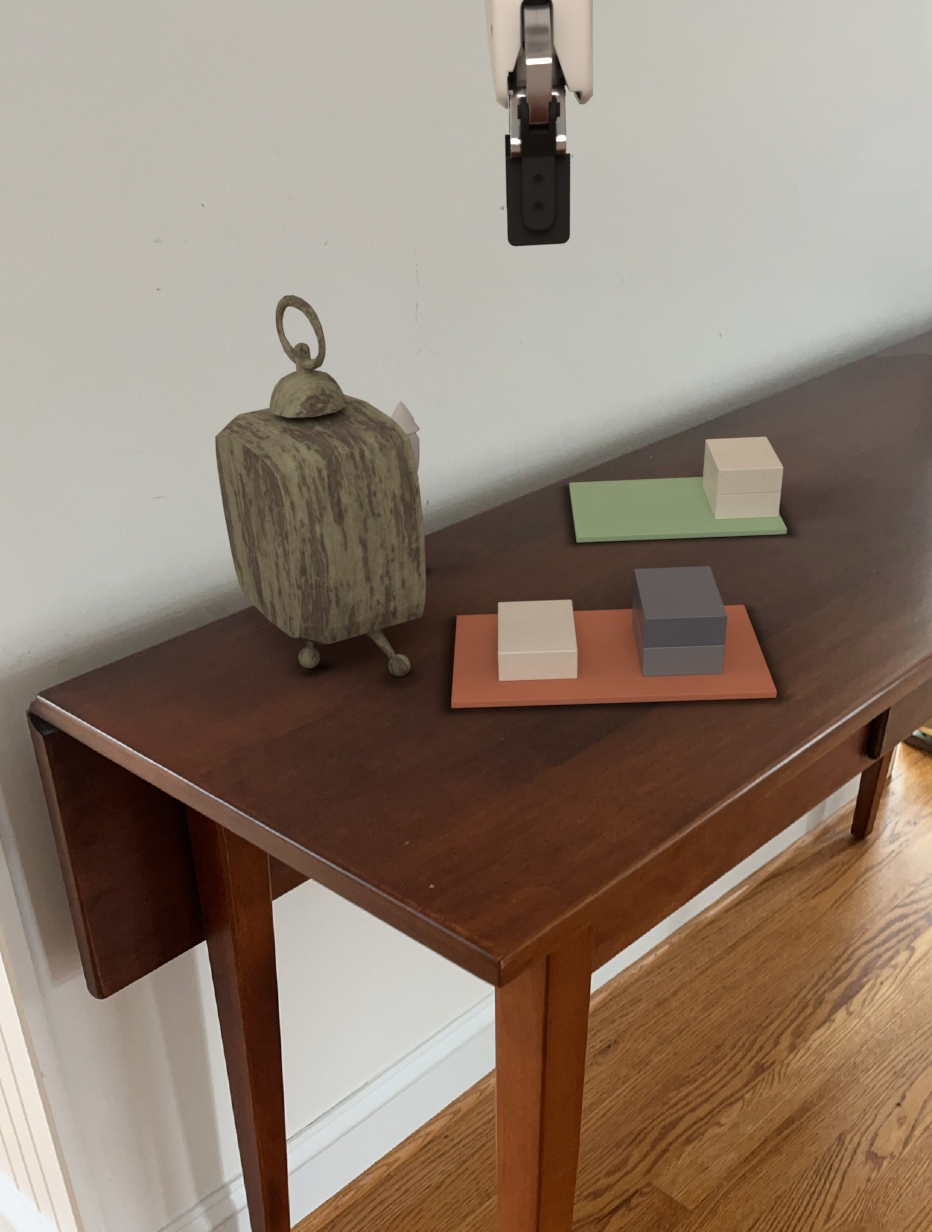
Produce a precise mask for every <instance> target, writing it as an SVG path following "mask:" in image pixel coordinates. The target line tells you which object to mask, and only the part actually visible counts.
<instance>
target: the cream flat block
mask: <svg viewBox="0 0 932 1232" xmlns="http://www.w3.org/2000/svg"><path fill="white" fill-rule="evenodd" d="M573 611H574V605H573V600H572V599H552V600H551V599H550V600H549V599H548V600H523V601H522V600H521V601H499V602H497V614H498V675H499V681H519V680H549V679H576V678H577V675H578V649H577V640H576V632H575V623H574V614H573Z"/></svg>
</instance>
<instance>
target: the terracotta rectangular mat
mask: <svg viewBox="0 0 932 1232" xmlns="http://www.w3.org/2000/svg"><path fill="white" fill-rule="evenodd" d="M724 608H725V611H726V614H727V625H726V637H725V644H724V645H725V649H724V661H723V672H722V674H703V675H673V676H644V677H643V676H642V671H641V666H640V661H639V656H638V651H637V646H636V641H635V636H634V631H633V626H632V612H633V608H621V609H596V610H595V609H594V610H593V609H592V610H573V614H574V623H575V632H576V640H577V649H578V675H577V678H576V679H549V680H519V681H499V675H498V613H487V614H486V613H485V614H483V613H482V614H461V615H460V614H459V615H456V622H455V638H454V652H453V667H452V668H453V669H452V686H451V698H450V699H451V701H450V705H451V709H467V708H469V709H470V708H471V709H472V708H500V707H501V708H502V707H503V708H505V707H532V706H534V707H535V706H536V707H537V706H561V705H563V706H564V705H593V704H623V703H628V704H629V703H657V702H659V703H660V702H687V701H688V702H689V701H716V700H717V701H718V700H722V701H723V700H743V699H744V700H747V699H749V700H752V699H753V700H754V699H776V698H777V694H778V691H777V688H776V685H775V682H774V681H773V678H772V674H771V672H770V669H769V667H768V665H767V662H766V659H765V657H764V654H763V651H762V649H761V646H760V644H759V641H758V638H757V635H756V633H755V630H754V628H753V624H752V622H751V620H750V617H749V614H748V611H747V608H746V605H745V604H730V605H729V604H728V605H724Z"/></svg>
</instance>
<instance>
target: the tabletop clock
mask: <svg viewBox="0 0 932 1232" xmlns="http://www.w3.org/2000/svg"><path fill="white" fill-rule="evenodd" d="M288 307H289V308H294V309H297V310H299V311H300V312H302V313H303V315H304V316H305V317H306V319H308V321H309V324H310V326H311V328H312V329H313V332H314V334H315V337H316V339H317V345H318V346H317V347H318V350H317V351H318V352H317V355H316V356H315V358H312V357H311V356H312V355H311V349H310V345H308V344H307V343H305V342H299V343H297V344H295V345H294V347H293V346H292V345H291V343H290V341H289V340H288V339H287V337H286V333H285V330H284V320H283V319H284V315H285V312H286V309H287V308H288ZM275 327H276V333H277V336H278V339H279V342H280V344H281V347H282V350H283V352H284V353H285V355H287V357H288V358H289V360H290V361H291V362H292V363H294V364H295V370H296V371H292V372H290V373H288V374H286V375H284V376H282V377H281V378H280V379H279V380H278V382H277V383H276V384H275V385H274V387H273V389H272V392H271V395H270V401H269V407H267V408H266V407H265V408H262V409H257V410H252V411H247V412H243V413H239V414H238V415H236V416H234V417H233V418H232V419H231V420H230V421H229V422H228V423H227V424H226V425H225V426H224V427H223V429H221V430H220V431H219V432H218V433H217V434H216V435H215V436H214V437H215V438H214V441H215V443H214V444H215V445H214V446H215V459H216V468H217V474H218V481H219V488H220V495H221V502H222V508H223V515H224V520H225V524H226V531H227V537H228V543H229V548H230V552H231V553H230V554H231V557H232V558H231V559H232V563H233V566H234V570H235V571H234V572H235V574H236V578H237V581H238V585H239V587H240V589H241V591H242V592H243V595H245V597H246V598H247V600H248V601H249V602H250V603H251V604H252V605H253V607H255V608H256V609H257V610H258V611H259V612H260V613H261V614H262V616H264V617H265V618H266V619H267V620H268V621H269V622H271V623H272V624H273V625H275V626H276V627H277V628H278V629H279V630H281V631H282V632H284V633H285V634H286V635H288V636H289V637H290V638H293V639H298V640H301V641H306V646H304V647H302V648H301V649H300V650H299V653H298V662H299V665H300V666H301V667H303V668H304V669H306V670H307V669H309V670H310V669H314V668H316V667H317V666H318V665H319V663H320V660H321V657H320V652H319V650H318V649H317V648H315V644H318V645H321V646H323V645H332V644H335V643H338V642H341V641H345V640H348V639H353V638H355V637H359V636H362V635H365V636H366V637H369V638H370V639H371V640H373V641H374V643H375V644H376V645H377V647H379V648H380V650H381V651H382V652H383V653H384V654H385V656H387V658H388V659H389V660H388V662H387V668H388V670H389V673H390V674H391V675H392V676H394V677H398V678H401V677H402V678H403V677H404V676H406V675H408V673H409V672H410V669H411V663H410V660H409V658H408V656H406V655H405V654H401V653H395V651H394V649H393V647H392V646H391V644H390V642H389V641H388V639H387V637H386V636H385V634H384V632H383V629H386V628H389V627H392V626H396V625H399V624H403V623H406V622H409V621H413V620H416V619H419V618H420V619H421V618H423V616H424V610H425V605H426V596H427V595H426V592H427V568H426V567H427V565H426V564H427V563H426V535H425V526H424V517H423V507H422V497H421V488H420V481H418V477H419V474H418V473H417V468H416V462H415V458H414V454H413V450H412V446H411V442H410V439H409V437H408V436H407V435H406V433H405V432H404V431H403V429H402V428H401V427H400V425H398V424H397V423H396V422H395V421H394V420H393V419H392V418H391V417H392V416H389V414H386V413H385V412H384V411H382V410H380V409H379V408H377V407H375V406H374V405H372V404H370V403H369V402H368V401H367V400H363V399H360V398H358V397H354V396H351V395H348V394H344V391H343V390H342V388H341V387H340V385H339V383H338V382H337V380H336V379H335V378H334V377H333V376H332V375H331V374H329V373H328V372H326V371H322V370H318V369H319V368H321V367H322V366H323V364H324V362H325V358H326V350H327V346H326V338H325V333H324V330H323V326H322V323H321V320H320V318H319V316H318V314H317V312H316V311H315V309H314V308H313V306H312V305H311V304H310V303H308V301H306V300H305V299H303V297H300V296H297V295H294V294H287V295H283V297H282V298H280V299H279V300H278V302H277V304H276V308H275Z"/></svg>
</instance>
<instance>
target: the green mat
mask: <svg viewBox="0 0 932 1232" xmlns="http://www.w3.org/2000/svg"><path fill="white" fill-rule="evenodd" d="M702 485H703V476H693V477H691V476H690V477H672V478H671V477H669V478H667V477H666V478H645V479H643V478H642V479H622V480H620V479H619V480H602V481H601V480H599V481H573V482H568V488H569V489H568V490H569V496H570V503H571V511H572V519H573V526H574V532H575V534H574V535H575V539H576V540H575V542H576V543H597V542H598V543H600V542H601V543H602V542H622V541H623V542H624V541H625V542H626V541H649V540H651V541H652V540H673V539H674V540H675V539H697V538H699V539H701V538H721V537H723V538H724V537H725V538H726V537H749V536H751V537H752V536H775V535H787V533H788V528H787V526H786V524H785V522H784V520H783V518H782V516H781V514H780V513H779V516H778V517H765V518H741V519H717V520H716V519H715V518H714V515H713V512H712V510H711V507H710V505H709V502H708V499H707V497H706V494H705V492H704V489H703V486H702Z"/></svg>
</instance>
